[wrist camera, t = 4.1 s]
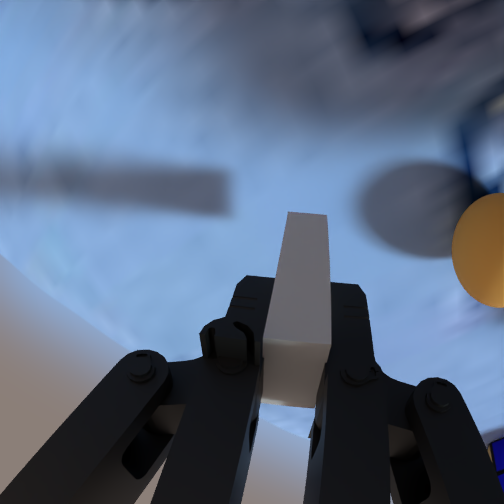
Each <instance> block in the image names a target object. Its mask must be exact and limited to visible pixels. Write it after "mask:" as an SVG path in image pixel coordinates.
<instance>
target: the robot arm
mask: <svg viewBox="0 0 504 504" xmlns="http://www.w3.org/2000/svg"><path fill="white" fill-rule="evenodd" d="M199 335H200V341H201V347H202V353H203V356H202V357H199V358H197V359H194V360H188V361H178V362H167V361H166V359H165V357H164V356H162V355H161V354H159V353H158V352H155V351H151V350H137V351H134V352H132V353H129V354H127V355H126V356H125V357H123V358H122V359H121V360H120V361H119V362H118V363H117V364H116V365H115V366H114V367H113V368H112V370H111V371H110V372H109V373H108V374H107V375H106V376H105V377H104V378H103V379H102V381H101V382H100V383H99V384H98V385H97V386H96V387H95V388H94V389H93V390H92V391H91V392H90V394H89V395H88V396H87V397H86V398H85V399H84V400H83V401H82V402H81V404H80V405H79V406H78V407H77V408H76V409H75V410H74V411H73V412H72V414H71V415H70V416H69V417H68V418H67V419H66V420H65V421H64V423H63V424H62V425H61V426H60V427H59V428H58V429H57V430H56V431H55V433H54V434H53V435H52V436H51V437H50V438H49V439H48V440H47V441H46V443H45V444H44V445H43V446H42V447H41V448H40V449H39V451H38V452H37V453H36V454H35V455H34V456H33V457H32V459H31V460H30V461H29V462H28V463H27V464H26V466H25V467H24V468H23V469H22V470H21V471H20V472H19V473H18V475H17V476H16V477H15V478H14V479H13V480H12V482H11V483H10V484H9V485H8V486H7V487H6V489H5V490H4V491H3V492H2V493H1V494H0V504H134V503H135V502H136V500H137V499H138V497H139V496H140V495H141V493H142V492H143V490H144V489H145V488H146V486H147V485H148V484H149V482H150V481H151V479H152V478H153V477H154V475H155V474H156V472H157V471H158V469H159V468H160V466H161V465H162V464H163V462H164V461H165V459H166V458H167V459H166V462H165V464H164V467H163V470H162V473H161V476H160V479H159V481H158V484H157V487H156V490H155V492H154V495H153V498H152V501H151V504H241V501H242V497H243V492H244V487H245V483H246V479H247V474H248V469H249V464H250V460H251V454H252V450H253V445H254V440H255V436H256V431H257V426H258V421H259V408H260V403H266V404H275V405H283V406H293V407H304V408H315V404H316V408H315V418H314V421H313V424H312V428H311V431H310V434H309V437H308V438H311V441H310V451H309V461H308V470H307V479H306V486H305V494H304V501H303V504H390V493H391V497H392V500H393V503H394V504H504V492H503V489H502V486H501V484H500V481H499V478H498V476H497V473H496V471H495V468H494V466H493V463H492V461H491V458H490V456H489V454H488V451H487V449H486V447H485V444H484V442H483V440H482V438H481V435H480V433H479V431H478V429H477V427H476V424H475V422H474V420H473V418H472V416H471V414H470V412H469V410H468V408H467V406H466V404H465V401H464V399H463V397H462V395H461V394H460V392H459V391H458V389H457V388H456V387H455V385H453V384H452V383H450V382H449V381H447V380H445V379H442V378H438V377H435V378H427V379H425V380H423V381H421V382H420V383H419V384H418V385H417V386H413V385H410V384H406V383H403V382H400V381H397V380H395V379H392V378H390V377H389V376H387V375H386V374H385V373H383V371H382V370H381V367H380V366H379V365H378V364H377V363H376V361H375V357H374V351H373V342H372V334H371V327H370V320H369V312H368V306H367V299H366V295H365V293H364V292H363V291H362V289H361V288H360V287H359V285H358V284H346V283H335V282H330V260H329V239H328V222H327V215H321V214H310V213H298V212H288V215H287V221H286V226H285V231H284V236H283V241H282V247H281V252H280V257H279V262H278V267H277V272H276V277H275V278H269V277H259V276H249V275H246V276H245V277H244V278H243V279H242V280H241V281H240V282H239V283H238V284H237V285H236V288H235V291H234V294H233V298H232V300H231V302H230V306H229V308H228V311H227V314H226V317H223V318H220V319H216V320H213V321H212V322H210V323H208V324H207V325H205V326H204V328H203V329H202V330H201V332H200V333H199Z"/></svg>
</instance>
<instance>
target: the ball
mask: <svg viewBox="0 0 504 504" xmlns="http://www.w3.org/2000/svg"><path fill="white" fill-rule="evenodd" d="M452 260H453V266H454V269H455V272H456V275H457V277H458V279H459V281H460V283H461V285H462V286H463V288H464V289H465V290H466V291H467V292H468V293H469V294H470V296H472V297H473V298H474V299H476V300H477V301H478V302H480V303H483V304H485V305H487V306H491V307H496V308H504V193H494V194H489V195H486V196H484V197H482V198H480V199H478V200H476V201H475V202H474V203H472V204H471V205H470V206H469V207H468V208H467V209H466V210H465V212H464V213H463V214H462V216H461V218H460V219H459V221H458V223H457V225H456V228H455V231H454V235H453V240H452Z"/></svg>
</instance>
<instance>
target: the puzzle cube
mask: <svg viewBox="0 0 504 504" xmlns="http://www.w3.org/2000/svg"><path fill="white" fill-rule="evenodd" d="M488 454H489V456H490V458H491V461H492V463H493V466H494V468H495V471H496V473H497V476H498V478H499V481H500V484H501V486H502V489H503V492H504V438H501V439H499V440H496V441H494V442H491V443H490V445H489V447H488Z"/></svg>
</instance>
